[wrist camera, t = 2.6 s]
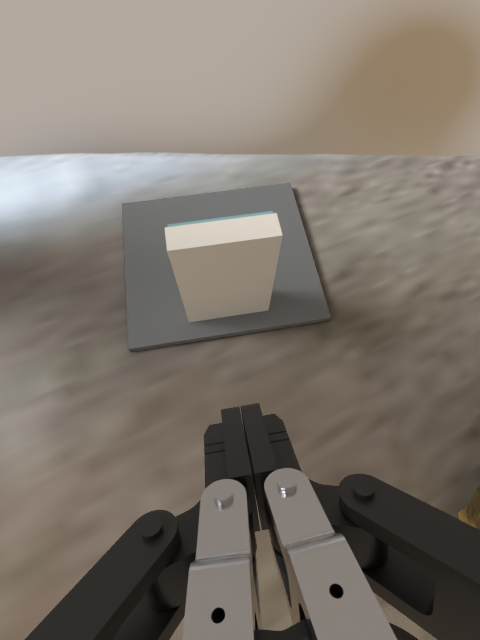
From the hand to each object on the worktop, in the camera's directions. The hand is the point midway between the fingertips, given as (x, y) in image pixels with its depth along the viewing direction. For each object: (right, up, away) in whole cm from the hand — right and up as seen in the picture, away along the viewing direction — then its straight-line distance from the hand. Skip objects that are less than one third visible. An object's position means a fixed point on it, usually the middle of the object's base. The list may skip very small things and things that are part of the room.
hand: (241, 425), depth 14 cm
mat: (-2, +11, +25) cm, 27 cm away
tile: (-1, +6, +22) cm, 23 cm away
